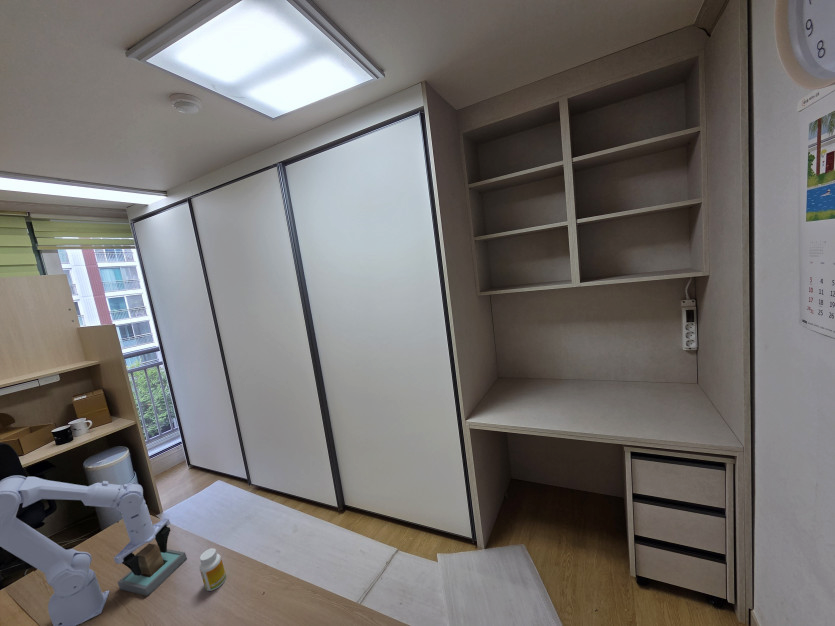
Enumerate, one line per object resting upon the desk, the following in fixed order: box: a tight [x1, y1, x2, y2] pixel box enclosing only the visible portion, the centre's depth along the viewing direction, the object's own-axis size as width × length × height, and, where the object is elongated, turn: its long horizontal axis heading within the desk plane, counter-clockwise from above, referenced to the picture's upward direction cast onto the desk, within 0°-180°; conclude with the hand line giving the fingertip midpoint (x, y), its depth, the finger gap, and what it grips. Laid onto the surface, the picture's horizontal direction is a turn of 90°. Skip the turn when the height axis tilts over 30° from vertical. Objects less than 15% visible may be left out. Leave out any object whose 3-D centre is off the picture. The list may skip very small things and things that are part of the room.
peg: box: [135, 543, 164, 578], centre depth 102 cm, size 4×4×8 cm
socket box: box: [117, 548, 188, 597], centre depth 103 cm, size 12×12×2 cm
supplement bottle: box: [199, 547, 227, 592], centre depth 96 cm, size 5×5×10 cm
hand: (151, 562), depth 102 cm, fingers open, 7 cm apart
